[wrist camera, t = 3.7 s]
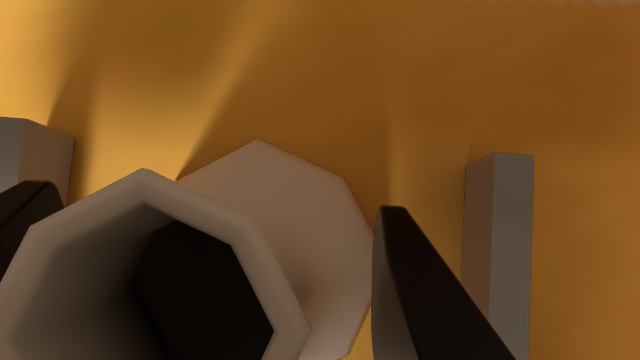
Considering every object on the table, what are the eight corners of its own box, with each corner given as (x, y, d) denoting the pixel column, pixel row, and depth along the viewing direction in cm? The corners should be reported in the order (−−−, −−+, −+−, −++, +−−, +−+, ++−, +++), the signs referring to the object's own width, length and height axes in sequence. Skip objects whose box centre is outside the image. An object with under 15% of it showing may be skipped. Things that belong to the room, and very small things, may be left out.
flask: (258, 99, 15) (144, -144, 5) (430, 261, 15) (657, 323, 5) (89, 271, 15) (-384, 353, 5) (262, 445, 14) (133, 937, 4)
